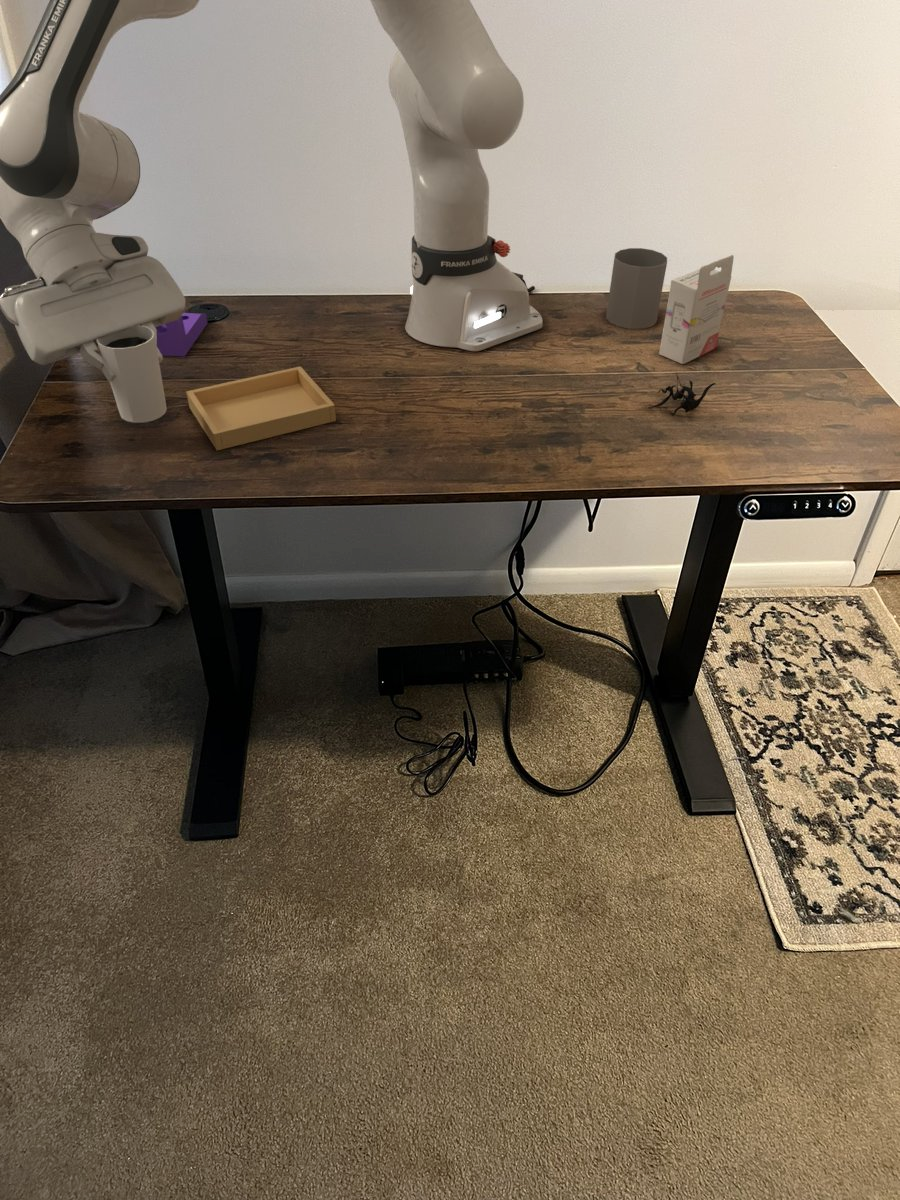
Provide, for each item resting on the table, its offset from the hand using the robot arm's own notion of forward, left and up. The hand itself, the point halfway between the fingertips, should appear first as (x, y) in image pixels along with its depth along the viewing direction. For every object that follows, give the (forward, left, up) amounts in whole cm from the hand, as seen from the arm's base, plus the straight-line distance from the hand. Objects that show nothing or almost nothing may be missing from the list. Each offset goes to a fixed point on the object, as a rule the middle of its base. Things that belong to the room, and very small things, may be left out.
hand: (137, 370), depth 105 cm
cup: (-80, -3, -10) cm, 80 cm away
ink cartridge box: (-80, +11, -10) cm, 81 cm away
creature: (-67, +24, -10) cm, 72 cm away
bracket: (-11, -29, -10) cm, 33 cm away
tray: (-15, -1, -10) cm, 18 cm away
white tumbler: (0, -1, -6) cm, 6 cm away
